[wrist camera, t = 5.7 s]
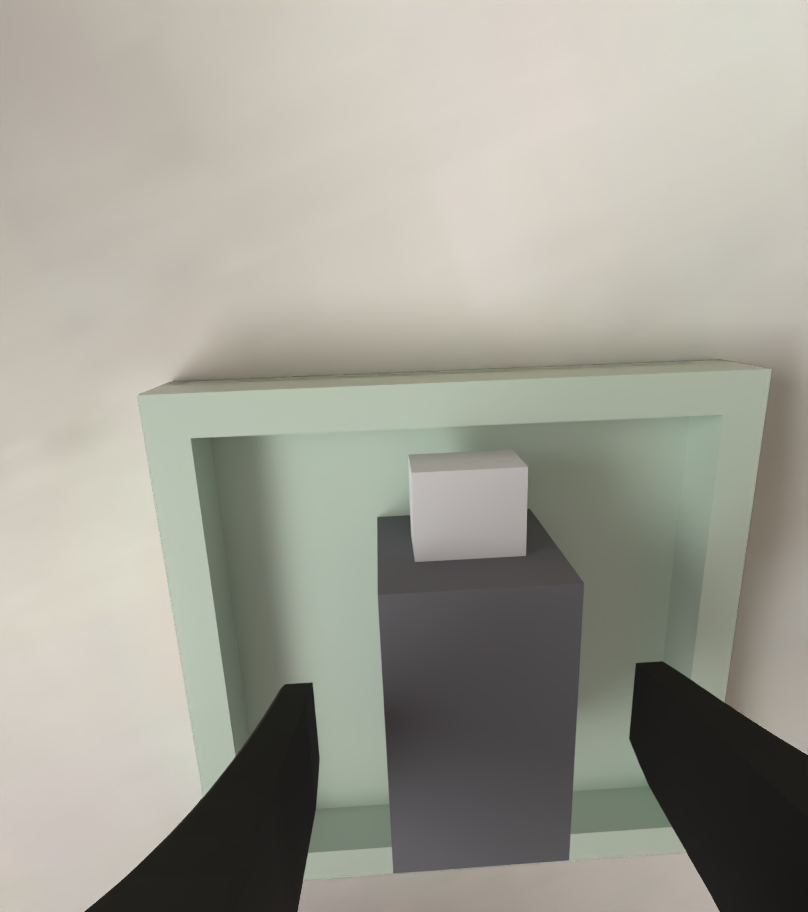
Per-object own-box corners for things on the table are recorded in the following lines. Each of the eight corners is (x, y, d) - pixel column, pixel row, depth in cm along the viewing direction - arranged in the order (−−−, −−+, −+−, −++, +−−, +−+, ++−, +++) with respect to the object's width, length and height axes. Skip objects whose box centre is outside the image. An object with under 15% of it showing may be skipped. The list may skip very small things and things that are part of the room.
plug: (524, 730, 17) (569, 860, 13) (389, 739, 16) (393, 873, 13) (532, 434, 14) (589, 485, 10) (373, 442, 14) (371, 496, 10)
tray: (669, 793, 18) (703, 851, 16) (235, 823, 18) (217, 886, 16) (719, 359, 15) (772, 368, 13) (169, 381, 14) (136, 395, 12)
